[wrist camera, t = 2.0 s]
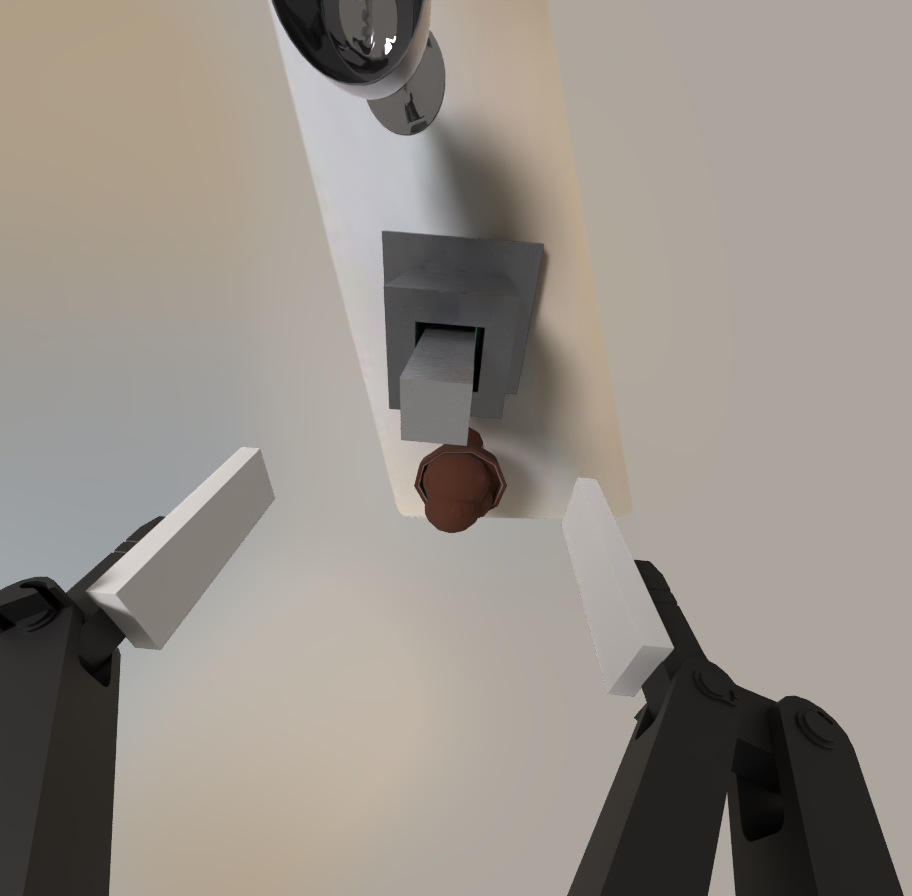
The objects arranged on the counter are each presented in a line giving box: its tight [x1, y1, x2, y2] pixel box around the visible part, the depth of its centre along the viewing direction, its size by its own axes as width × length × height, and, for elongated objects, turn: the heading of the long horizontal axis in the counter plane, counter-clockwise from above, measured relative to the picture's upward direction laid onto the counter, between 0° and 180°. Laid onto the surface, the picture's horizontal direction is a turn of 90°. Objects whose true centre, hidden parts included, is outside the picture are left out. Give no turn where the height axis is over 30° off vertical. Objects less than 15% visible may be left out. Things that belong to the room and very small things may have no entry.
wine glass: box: [271, 0, 445, 135], centre depth 22 cm, size 8×8×15 cm
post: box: [400, 323, 477, 446], centre depth 28 cm, size 4×4×21 cm
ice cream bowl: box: [414, 428, 507, 533], centre depth 42 cm, size 11×11×15 cm
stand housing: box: [382, 231, 544, 419], centre depth 33 cm, size 16×16×15 cm
